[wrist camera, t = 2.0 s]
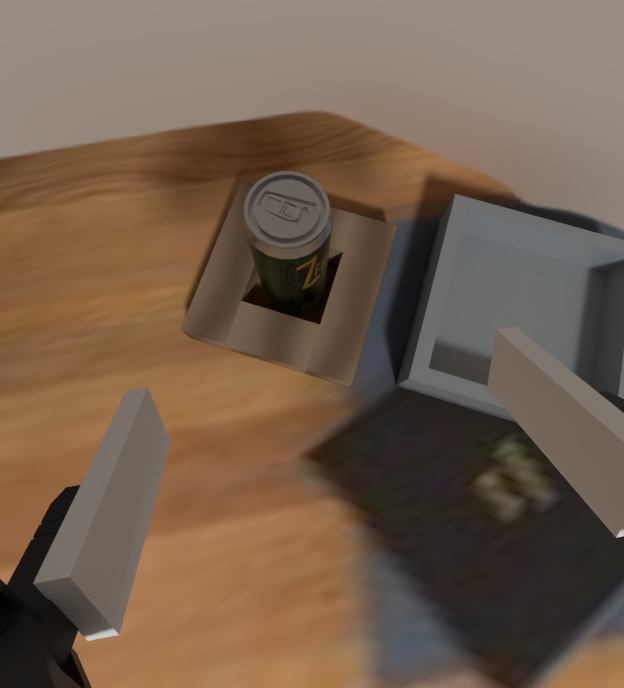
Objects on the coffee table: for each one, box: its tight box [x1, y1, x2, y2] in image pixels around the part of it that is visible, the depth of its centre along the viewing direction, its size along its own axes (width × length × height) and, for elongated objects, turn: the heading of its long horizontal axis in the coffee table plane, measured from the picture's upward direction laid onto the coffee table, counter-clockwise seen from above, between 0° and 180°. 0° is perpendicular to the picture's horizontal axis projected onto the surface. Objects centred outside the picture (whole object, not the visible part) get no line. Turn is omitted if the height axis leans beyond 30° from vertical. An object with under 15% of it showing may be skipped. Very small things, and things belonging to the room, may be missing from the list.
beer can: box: [243, 171, 333, 314], centre depth 27 cm, size 5×5×12 cm
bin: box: [396, 194, 624, 423], centre depth 31 cm, size 16×16×4 cm
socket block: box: [181, 182, 397, 387], centre depth 32 cm, size 14×14×2 cm
